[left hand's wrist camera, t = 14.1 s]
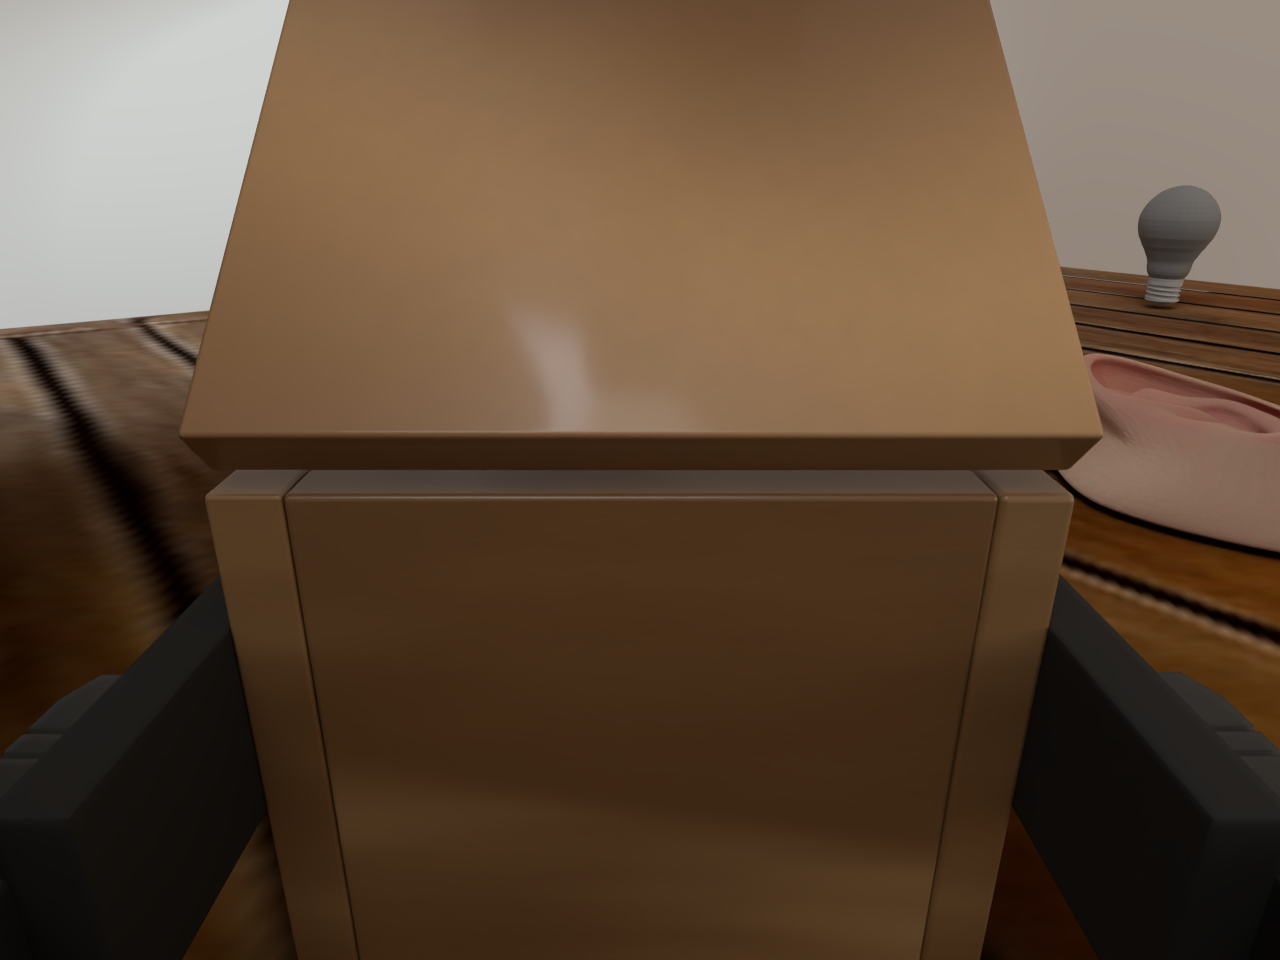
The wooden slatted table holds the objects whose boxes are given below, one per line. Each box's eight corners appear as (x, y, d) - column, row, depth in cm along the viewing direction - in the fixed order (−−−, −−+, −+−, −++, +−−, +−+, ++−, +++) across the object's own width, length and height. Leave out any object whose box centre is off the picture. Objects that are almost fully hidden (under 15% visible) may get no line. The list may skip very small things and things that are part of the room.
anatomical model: (1482, 463, 26) (1067, 418, 30) (1438, 579, 28) (1047, 521, 32) (1347, 367, 37) (1059, 345, 42) (1321, 453, 39) (1045, 423, 43)
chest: (486, 580, 28) (464, 279, 24) (787, 580, 28) (809, 280, 24) (319, 1076, 13) (201, 495, 9) (958, 1073, 13) (1079, 496, 10)
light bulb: (1138, 310, 73) (1164, 186, 69) (1111, 298, 79) (1134, 183, 75) (1213, 311, 72) (1243, 187, 69) (1180, 300, 78) (1207, 184, 74)
